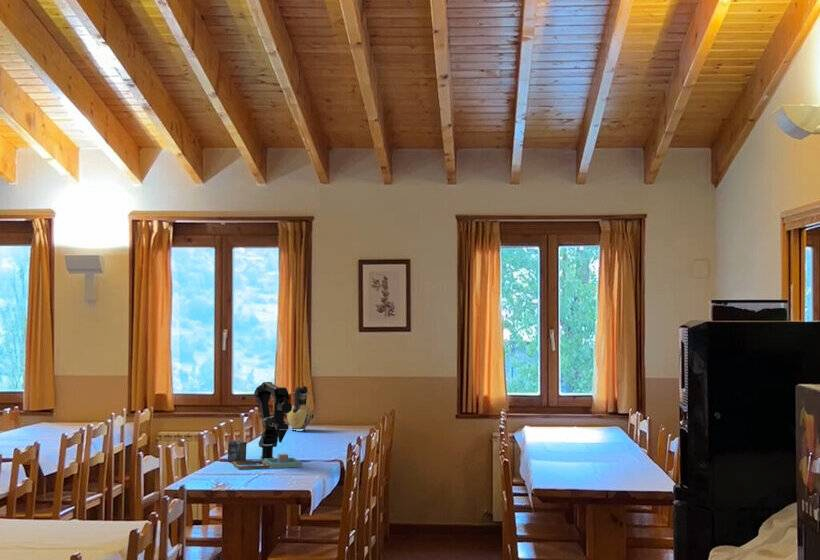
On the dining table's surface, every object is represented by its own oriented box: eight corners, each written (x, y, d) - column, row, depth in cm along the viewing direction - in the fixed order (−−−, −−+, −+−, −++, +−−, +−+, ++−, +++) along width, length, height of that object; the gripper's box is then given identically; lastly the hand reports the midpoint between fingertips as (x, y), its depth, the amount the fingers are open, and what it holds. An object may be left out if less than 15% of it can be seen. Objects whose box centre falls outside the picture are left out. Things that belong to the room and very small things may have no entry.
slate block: (277, 463, 448) (277, 453, 449) (285, 463, 450) (286, 453, 450) (279, 465, 444) (279, 455, 445) (287, 464, 446) (288, 454, 446)
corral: (232, 464, 445) (232, 461, 445) (262, 463, 451) (262, 460, 451) (238, 469, 431) (238, 466, 431) (269, 468, 437) (269, 465, 437)
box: (227, 461, 453) (228, 441, 454) (234, 460, 458) (235, 440, 459) (238, 463, 449) (239, 442, 450) (246, 462, 454) (246, 441, 455)
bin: (264, 463, 451) (264, 458, 452) (293, 462, 457) (293, 457, 457) (271, 468, 437) (271, 463, 437) (301, 467, 443) (301, 462, 443)
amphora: (306, 433, 579) (308, 387, 581) (282, 431, 582) (284, 386, 584) (314, 430, 597) (316, 386, 598) (290, 428, 600) (292, 385, 601)
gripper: (260, 409, 463) (258, 439, 462) (268, 413, 445) (266, 444, 445) (280, 409, 467) (279, 438, 466) (289, 413, 450) (288, 443, 449)
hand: (277, 441), depth 456 cm, fingers open, 9 cm apart
